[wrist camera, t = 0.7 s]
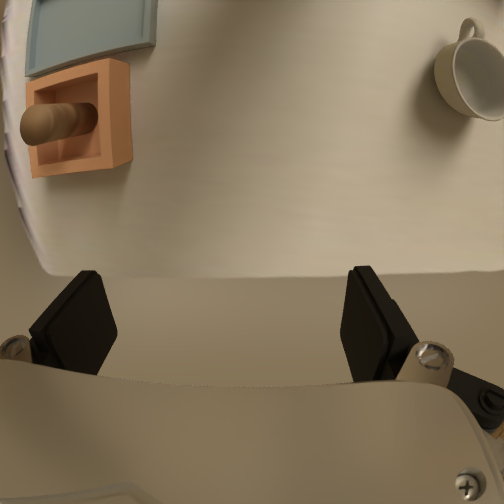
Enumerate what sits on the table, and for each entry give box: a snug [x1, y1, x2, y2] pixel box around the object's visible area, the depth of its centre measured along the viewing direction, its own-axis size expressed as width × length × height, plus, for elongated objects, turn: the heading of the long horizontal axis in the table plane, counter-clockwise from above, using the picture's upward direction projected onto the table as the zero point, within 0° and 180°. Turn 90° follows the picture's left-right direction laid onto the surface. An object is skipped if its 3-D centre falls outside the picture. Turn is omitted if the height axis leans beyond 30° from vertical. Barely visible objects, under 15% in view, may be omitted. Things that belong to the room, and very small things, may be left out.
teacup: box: [434, 18, 504, 121], centre depth 26 cm, size 14×11×8 cm
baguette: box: [20, 103, 98, 146], centre depth 28 cm, size 4×4×11 cm
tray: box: [25, 0, 158, 77], centre depth 27 cm, size 14×20×2 cm
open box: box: [26, 58, 133, 178], centre depth 32 cm, size 13×13×6 cm
